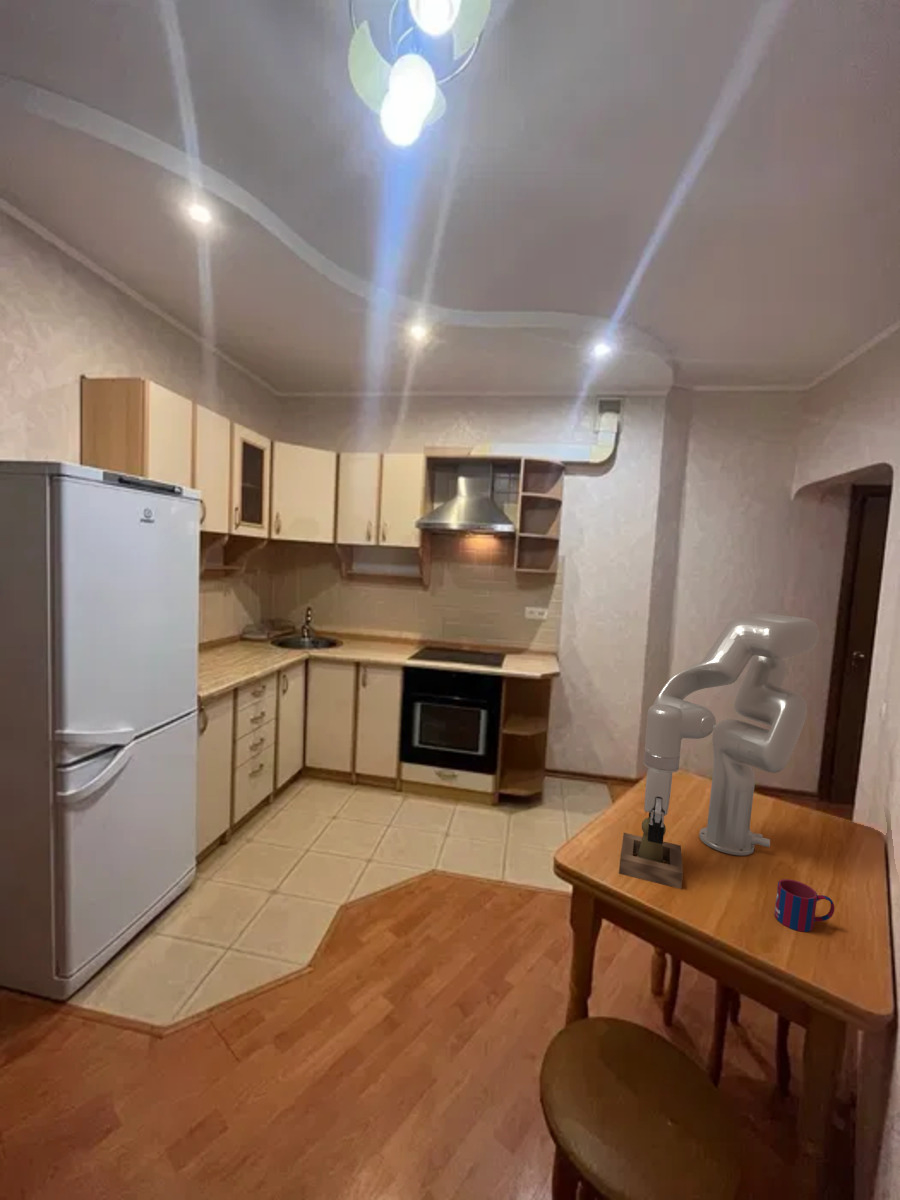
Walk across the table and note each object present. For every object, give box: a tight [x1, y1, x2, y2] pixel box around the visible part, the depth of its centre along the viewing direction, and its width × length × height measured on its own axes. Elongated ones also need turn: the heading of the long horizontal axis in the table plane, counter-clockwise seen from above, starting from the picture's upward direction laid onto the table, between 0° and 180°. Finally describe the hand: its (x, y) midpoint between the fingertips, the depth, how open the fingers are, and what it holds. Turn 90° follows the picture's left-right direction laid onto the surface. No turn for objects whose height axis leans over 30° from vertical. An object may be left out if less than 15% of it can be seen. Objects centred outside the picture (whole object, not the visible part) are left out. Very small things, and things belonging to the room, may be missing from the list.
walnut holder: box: [618, 832, 684, 889], centre depth 130 cm, size 13×13×4 cm
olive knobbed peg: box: [637, 817, 667, 863], centre depth 129 cm, size 6×6×11 cm
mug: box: [774, 878, 835, 933], centre depth 112 cm, size 7×10×7 cm
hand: (655, 831), depth 129 cm, fingers open, 9 cm apart
